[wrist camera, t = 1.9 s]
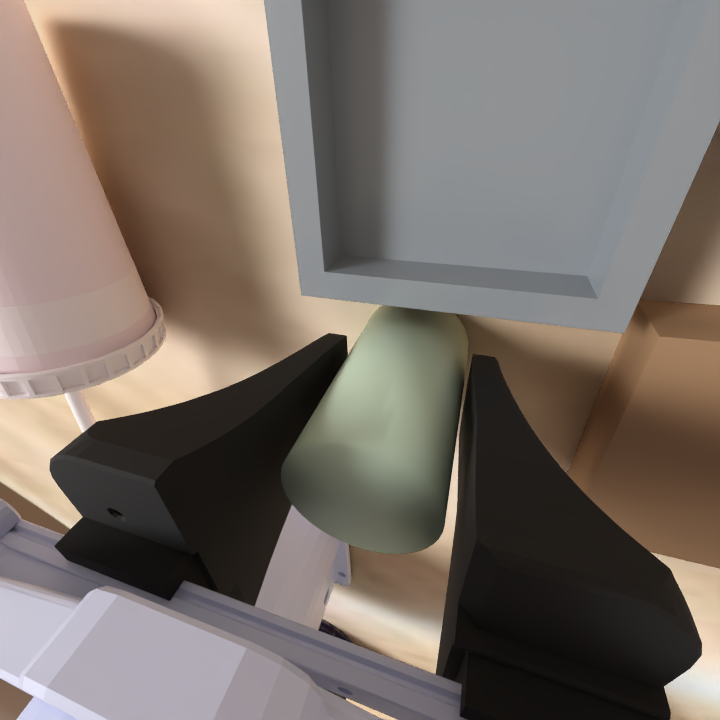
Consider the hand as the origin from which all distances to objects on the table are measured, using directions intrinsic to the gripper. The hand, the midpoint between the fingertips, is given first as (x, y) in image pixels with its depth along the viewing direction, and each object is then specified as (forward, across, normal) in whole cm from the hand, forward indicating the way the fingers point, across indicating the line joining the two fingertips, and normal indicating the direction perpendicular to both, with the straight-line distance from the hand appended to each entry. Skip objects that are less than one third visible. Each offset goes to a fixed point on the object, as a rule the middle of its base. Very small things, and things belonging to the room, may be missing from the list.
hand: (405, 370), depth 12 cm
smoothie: (-1, +11, -10) cm, 15 cm away
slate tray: (+2, -1, -6) cm, 7 cm away
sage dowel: (+2, 0, 0) cm, 2 cm away
